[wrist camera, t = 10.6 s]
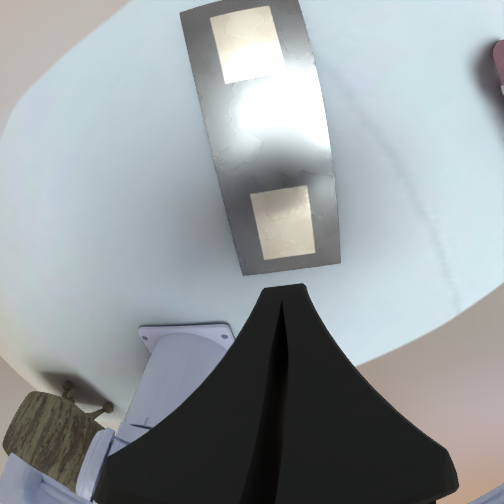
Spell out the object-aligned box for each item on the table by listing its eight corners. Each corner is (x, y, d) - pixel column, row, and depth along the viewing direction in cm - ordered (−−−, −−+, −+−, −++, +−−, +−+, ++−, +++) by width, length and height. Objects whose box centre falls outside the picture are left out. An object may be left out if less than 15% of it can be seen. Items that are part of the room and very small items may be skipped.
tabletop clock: (74, 402, 35) (29, 509, 13) (39, 369, 31) (-18, 481, 9) (126, 410, 31) (79, 550, 9) (84, 371, 27) (17, 526, 5)
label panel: (339, 259, 16) (341, 264, 16) (243, 272, 17) (242, 276, 17) (294, -9, 9) (294, -13, 8) (181, 14, 10) (178, 12, 9)
